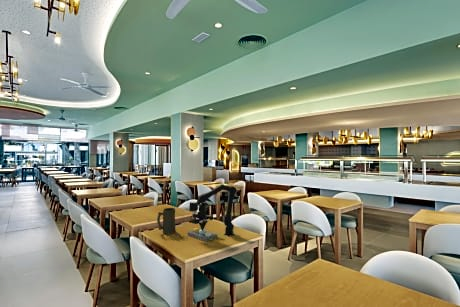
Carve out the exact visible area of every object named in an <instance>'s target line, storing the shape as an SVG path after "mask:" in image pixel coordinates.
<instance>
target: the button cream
mask: <svg viewBox="0 0 460 307" xmlns="http://www.w3.org/2000/svg"><path fill="white" fill-rule="evenodd" d="M211 233H212V231H208V232H205V236H207V237H209V236H211Z"/></svg>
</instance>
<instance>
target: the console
mask: <svg viewBox="0 0 460 307" xmlns="http://www.w3.org/2000/svg"><path fill="white" fill-rule="evenodd" d="M200 230H201V228H200ZM205 232H209V231H207V230H205ZM187 236H189V237H192V238H195V239H197V240H200V241H203V242H208V241H212V240H215V239H217V238H218V234H216V233H213V232H211V236H209V237H207V236H205V234H203V235H201V234H199V232H198V233H195V232H194V229H193V230H191V231H187Z"/></svg>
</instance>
